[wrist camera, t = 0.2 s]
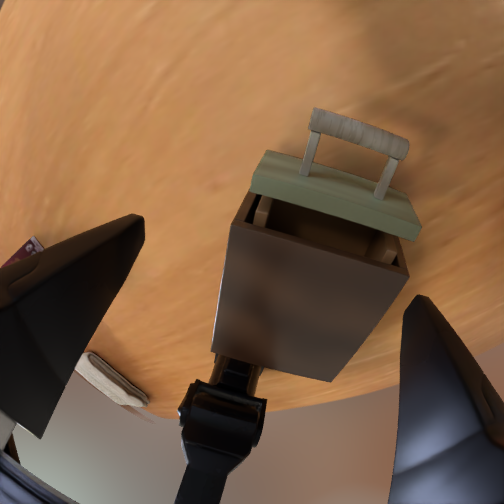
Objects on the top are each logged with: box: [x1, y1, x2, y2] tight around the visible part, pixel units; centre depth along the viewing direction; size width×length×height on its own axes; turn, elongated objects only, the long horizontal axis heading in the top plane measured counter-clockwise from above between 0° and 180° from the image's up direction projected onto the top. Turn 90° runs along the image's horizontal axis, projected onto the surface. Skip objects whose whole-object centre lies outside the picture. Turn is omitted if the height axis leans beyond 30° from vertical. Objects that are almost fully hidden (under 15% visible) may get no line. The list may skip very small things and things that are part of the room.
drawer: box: [250, 107, 422, 265], centre depth 21 cm, size 18×11×5 cm, turn 170°
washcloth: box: [75, 352, 150, 407], centre depth 54 cm, size 12×18×3 cm, turn 33°
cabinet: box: [211, 189, 410, 382], centre depth 25 cm, size 14×12×6 cm
